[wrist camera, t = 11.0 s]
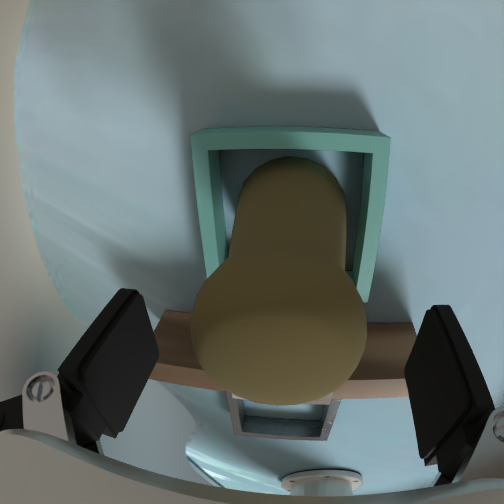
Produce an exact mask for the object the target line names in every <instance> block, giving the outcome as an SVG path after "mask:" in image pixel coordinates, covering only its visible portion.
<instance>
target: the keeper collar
mask: <svg viewBox="0 0 504 504" xmlns="http://www.w3.org/2000/svg"><path fill="white" fill-rule="evenodd" d="M226 395H227V400H228V405H229V410H230V415H231V420H232V425H233V430H234V434H237V435H245V436H254V437H264V438H276V439H291V440H319V441H327V439H328V436H329V433H330V430H331V428H332V425H333V422H334V419H335V416H336V413H337V410H338V407H339V404H340V401H341V399H331V402H330V405H324V409H323V413H322V416H321V420H320V421H318V420H292V419H277V418H264V417H254V416H245V411H244V403H243V399H235V398H232V393H230V392H227V391H226Z"/></svg>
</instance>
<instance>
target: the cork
mask: <svg viewBox="0 0 504 504" xmlns="http://www.w3.org/2000/svg"><path fill="white" fill-rule="evenodd" d="M346 219H347V208H346V202H345V195H344V192H343V190H342V188H341V186H340V184H339V182H338V181H337V179H336V177H335V176H333V175H332V174H331V173H330V172H329V171H328V170H327V169H326V168H325V167H324V166H322V165H320V164H318V163H316V162H313V161H311V160H309V159H307V158H299V157H289V156H288V157H283V158H278V159H273V160H270V161H268V162H266V163H264V164H263V165H261V166H259V167H258V168H256V169H255V170H254V171H253V172H252V173H251V174H250V176H249V177H248V178H247V179H246V180H245V181H244V184H243V186H242V189H241V191H240V194H239V197H238V202H237V208H236V214H235V219H234V225H233V231H232V237H231V243H230V249H229V255H228V258H227V259H226V260H225V261H224V262H223V263H222V264H221V265H219V267H218V268H217V269H216V270H215V271H214V272H213V273H212V274H211V275H210V276H209V277H208V278H207V279H206V281H205V282H204V283H203V285H202V287H201V289H200V291H199V293H198V295H197V298H196V301H195V304H194V307H193V310H192V313H191V322H190V332H191V340H192V347H193V350H194V352H195V355H196V358H197V360H198V362H199V363H200V365H201V367H202V369H203V370H204V372H205V374H206V375H208V376H209V377H210V378H211V379H212V380H213V381H214V382H215V383H216V384H217V385H218V386H220V387H221V388H223V389H225V390H227V391H229V392H230V393H232V394H234V395H236V396H238V397H241V398H244V399H247V400H250V401H253V402H256V403H261V404H269V405H296V404H302V403H306V402H310V401H314V400H318V399H321V398H323V397H324V396H326V395H328V394H330V393H332V392H334V391H336V390H337V389H338V388H339V387H341V386H342V385H343V384H344V383H345V382H346V381H347V380H348V379H349V378H350V376H351V375H352V373H353V372H354V370H355V369H356V367H357V366H358V364H359V361H360V359H361V357H362V354H363V352H364V350H365V345H366V338H367V322H366V312H365V307H364V303H363V300H362V298H361V296H360V294H359V292H358V290H357V289H356V287H355V285H354V283H353V281H352V280H351V278H350V277H349V275H348V274H347V273H346V271H345V255H346Z"/></svg>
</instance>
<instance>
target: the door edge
mask: <svg viewBox="0 0 504 504" xmlns="http://www.w3.org/2000/svg"><path fill="white" fill-rule="evenodd" d="M190 322H191V313H186V312H176V311H167V310H165V312H164V314H163V316H162V317H161V319H160V321H159V323H158V325H157V327H156V328H155V330H154V336H155V339H156V342H157V345H158V348H159V358H158V361H157V363H156V365H155V367H154V369H153V371H152V373H151V375H150V377H149V379H154V380H159V381H164V382H169V383H174V384H180V385H186V386H192V387H198V388H205V389H212V390H219V391H227V390H225V389H223V388H221V387H220V386H218V385H217V384H216V383H215V382H214V381H213V380H212V379H211V378H210V377H209V376H208V375H206V374H205V372H204V370H203V369H202V367H201V365H200V363H199V362H198V360H197V358H196V355H195V352H194V350H193V347H192V340H191V332H190ZM416 338H417V335H416V332H415V329H414V326H413V323H367V338H366V345H365V350H364V352H363V354H362V357H361V359H360V361H359V364H358V366H357V367H356V369H355V370H354V372H353V373H352V375H351V376H350V378H349V379H348V380H347V381H346V382H345V383H344V384H343V385H342V386H341V387H339V388H338V389H337V390H336V391H334V392H332V393H330V394H328V395H326V396H324V397H323V398H321V399H318V400H314V401H310V402H306V403H302V404H320V405H330V402H331V399H363V398H390V397H405V396H409V394H408V389H407V385H406V380H405V376H404V369H405V365H406V363H407V360H408V358H409V355H410V353H411V351H412V348H413V346H414V343H415V340H416ZM227 392H229V391H227ZM232 398H235V399H244V398H241V397H238V396H236V395H234V394H232ZM244 400H247V399H244Z"/></svg>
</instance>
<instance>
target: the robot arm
mask: <svg viewBox="0 0 504 504" xmlns="http://www.w3.org/2000/svg"><path fill="white" fill-rule="evenodd" d="M158 358H159V348H158V345H157V342H156V339H155V336H154V332H153V329H152V326H151V323H150V319H149V316H148V312H147V309H146V306H145V302H144V298H143V296H142V295H141V294H139V292H138V291H137V290H135V289H125V288H121V289H120V290H118V292H117V293H116V294H115V295H114V297H113V298H112V299H111V300H110V302H109V303H108V304H107V305H106V306H105V308H104V309H103V310H102V312H101V313H100V314H99V315H98V317H97V318H96V319H95V320H94V322H93V323H92V324H91V326H90V327H89V328H88V329H87V331H86V332H85V333H84V335H83V336H82V337H81V339H80V340H79V341H78V343H77V344H76V345H75V347H74V348H73V349H72V351H71V352H70V353H69V355H68V356H67V357H66V359H65V360H64V361H63V363H62V364H61V366H60V367H59V368H58V371H59V374H58V376H56V375H55V374H53V373H51V372H46V371H44V372H39V373H37V374H34V375H33V376H32V377H30V378H29V379H28V380H27V382H26V383H25V385H24V387H23V392H22V395H20V396H17V397H14V398H11V399H8V400H5V401H2V402H0V504H504V407H499V408H496V409H495V407H494V404H493V400H492V398H491V395H490V392H489V390H488V387H487V385H486V382H485V380H484V377H483V375H482V372H481V370H480V367H479V365H478V363H477V360H476V358H475V356H474V354H473V351H472V349H471V347H470V345H469V343H468V340H467V338H466V336H465V334H464V332H463V330H462V328H461V326H460V324H459V322H458V320H457V318H456V316H455V314H454V312H453V310H452V308H451V307H450V305H433V306H432V307H431V309H430V310H427V311H426V313H425V316H424V319H423V322H422V324H421V327H420V330H419V333H418V335H417V338H416V340H415V343H414V346H413V348H412V351H411V353H410V355H409V358H408V360H407V363H406V365H405V369H404V376H405V380H406V385H407V389H408V394H409V399H410V404H411V409H412V414H413V420H414V425H415V431H416V437H417V443H418V450H419V456H420V458H421V459H424V463H425V466H428V465H434V464H438V470H439V472H438V474H437V476H436V477H435V479H434V480H433V482H432V483H431V485H430V486H429V487H428V488H422V489H416V490H408V491H401V492H392V493H383V494H372V495H358V496H352V490H355V489H357V488H358V487H360V486H361V485H362V476H361V475H359V474H358V473H355V472H351V471H345V470H312V471H304V472H298V473H294V474H290V475H288V476H286V477H284V478H283V479H282V484H281V486H282V488H283V489H284V490H286V491H288V492H290V495H276V494H265V493H255V492H247V491H239V490H233V489H226V488H220V487H215V486H209V485H204V484H199V483H195V482H190V481H185V480H181V479H177V478H173V477H169V476H165V475H162V474H158V473H155V472H151V471H148V470H145V469H141V468H138V467H135V466H132V465H129V464H126V463H123V462H120V461H117V460H115V459H112V458H109V457H106V456H105V455H104V452H103V449H102V445H101V442H100V437H101V435H102V434H105V435H107V436H110V437H113V438H116V437H117V434H118V433H119V432H122V431H123V430H124V428H125V426H126V424H127V422H128V420H129V418H130V415H131V413H132V411H133V409H134V407H135V405H136V403H137V401H138V399H139V397H140V395H141V393H142V391H143V389H144V387H145V385H146V383H147V381H148V379H149V377H150V375H151V373H152V371H153V369H154V367H155V365H156V363H157V361H158Z"/></svg>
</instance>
